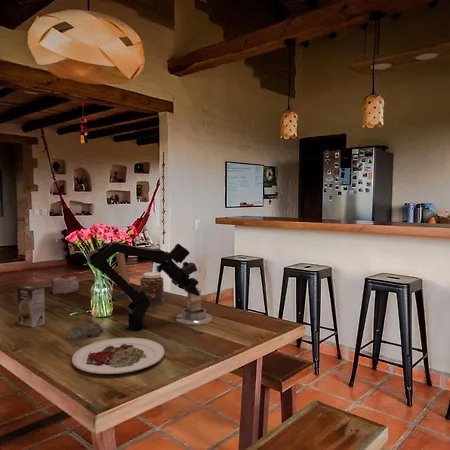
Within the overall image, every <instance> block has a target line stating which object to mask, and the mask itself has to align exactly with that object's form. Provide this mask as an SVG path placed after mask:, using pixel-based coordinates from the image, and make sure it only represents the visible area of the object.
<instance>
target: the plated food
mask: <svg viewBox="0 0 450 450" xmlns="http://www.w3.org/2000/svg"><path fill="white" fill-rule="evenodd" d="M164 355H165V348H164V346H163V345H161V344H160V343H159V342H156V341H154V340H151V339H146V338H141V337H139V338H138V337H117V338H110V339H103V340H99V341H95V342H93V343H90V344H88V345H87V344H86V345H85V346H83V347H81V348H80V349H78V350H77V351H76V352H74V354H73V356H72V357H71V358H72V359H71V362H72V364H73V367H74V366H75V368H77V369H79V370H81V371H83V372H88V373H91V374H99V375H115V374H117V375H118V374H126V373H132V372H136V371H139V370H142V369H146V368H148V367H151V366H152V365H153V366H154V365H155V364H157V363H158V362H160V361H161V360H162V359H163V357H164Z"/></svg>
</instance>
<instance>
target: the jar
mask: <svg viewBox="0 0 450 450" xmlns="http://www.w3.org/2000/svg"><path fill="white" fill-rule="evenodd" d="M139 282H140V283H139V284H140V285H139V287H140V289H141V290H142V291H143V292H144V294H146V295H147V296H148V297H149V298H148V299H149V301H150V305H149V307H157V306H161V305H163V304H164V302H165V301H164V290H165V289H164V278H163V277H162V276H161V272H160V273H159V272H157V271H156V272H152V271H149V272H144V273H143V276H142V277H141V278H140V281H139Z"/></svg>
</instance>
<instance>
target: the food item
mask: <svg viewBox="0 0 450 450" xmlns="http://www.w3.org/2000/svg"><path fill="white" fill-rule="evenodd" d="M78 290H79V278H77V277H76V276H69V275H68V274H62V275H61V276H60V277H54V278H52V279H51V294H53V295H58V294H59V295H61V294H68V293H75V292H77V291H78Z"/></svg>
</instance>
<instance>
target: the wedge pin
mask: <svg viewBox="0 0 450 450" xmlns="http://www.w3.org/2000/svg"><path fill="white" fill-rule="evenodd" d="M196 288H197V290H198V292H199V294H200V295H199V296H196V295H194V294H191V293H187V308H188V309H189V310H191V311H195V310H201V308H202V306H201V305H202V304H201V303H202V302H201V298H202V295H201V294H202V292H201V291H202V290H201V289H200V288H199V287H196Z"/></svg>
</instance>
